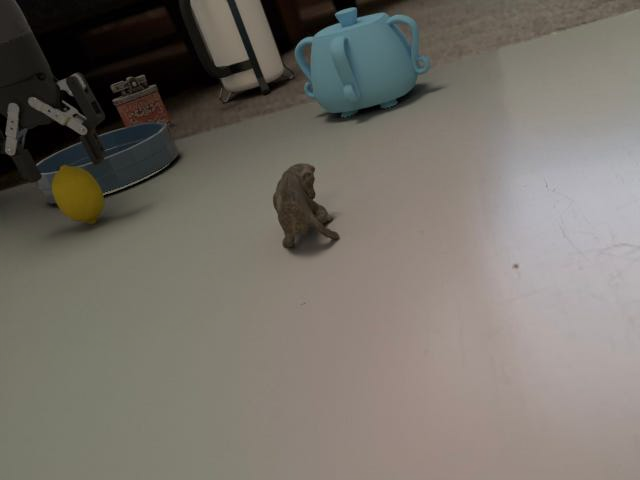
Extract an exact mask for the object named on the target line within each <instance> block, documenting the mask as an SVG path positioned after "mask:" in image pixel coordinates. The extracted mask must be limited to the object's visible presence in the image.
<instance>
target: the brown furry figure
mask: <svg viewBox="0 0 640 480" xmlns="http://www.w3.org/2000/svg"><path fill="white" fill-rule="evenodd" d="M315 172H316V167H315V166H314V165H311V164H309V163H304V162H303V163H302V162H301V163H295V164H293V165H291V166H290V167H288V168H287V169H286V170H285V171H284V172H282V175H281V178H280V179H279V181H278V182H277V183H276V188H275V192H273V193H274V194H273V196H272V205H273V208H274V210H275V212H276V214H277V220H278V223H279V225H280V227H281V229H282V230H283V234H284V237H283V239H282V247H284V248H291V247H292V246H293V245H294V243H295V241H296V238H295V232H297V233H298V234H300V235H301V236H306V235H307V234H308V232H309V228H311V229H312V230H314V231H315V232H316V233H318V234H320V235H322V236H323V237H325V238H326V239H330V240H336V239H338V238H340V235H339V234H338V232H337V231H334V230H332V229H330V228H328V227H326V226H325V225H324V224H326V223H329V222H330V221H331V220H332V219H333V216H332V215H330V214H329V213H328V210H327V209H326V207H324V206H323V205H321V204H319V203H318V202H316V201H315V200H314V199H315V198H316V196H317V195H316V191H315V187H314V184H315V180H316V178H315V174H314V173H315Z"/></svg>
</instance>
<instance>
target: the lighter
mask: <svg viewBox="0 0 640 480" xmlns="http://www.w3.org/2000/svg"><path fill="white" fill-rule="evenodd" d="M147 81H148V80H147V77H146V75H145V74H141V75H138V76H136V77H134V76H128V77H126V79H125V80H121V81H118V82H115V83H113V84H111V85H110V90H111V92H112V93H113V94H115V93H118V92H120V93H121V96H119V97H116V98H114V99H111V100H112V103H113V105H114V106H115V107H116V110H117V113H118V114H119V116H120V118H121V120H122V122H123V124H124V126H125V127H128V126H132V125H137V124H142V123H147V122H158V121H159V122H164V123H166V124H167V126H168V128H169V130H171V129H173V128H174V127H175V124H174V122H173V120H172V119H171V118H170V115H169V113H168V111H167V108H166V106H165V104H164V102H163V100H162V97H161V95H160V93H159V88H158V86H157V84H151V85H148V82H147ZM125 89H127V91H126V90H125Z"/></svg>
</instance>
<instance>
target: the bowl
mask: <svg viewBox="0 0 640 480" xmlns="http://www.w3.org/2000/svg"><path fill="white" fill-rule="evenodd" d="M98 137H99V139H100V141H101V143H102V145H103V147H104V149H105V155H104V161H103V162H101V163H100V164H97V165H94V164H93V163H92V161H91V159H90V157H89V156H88V154H87V152H86V150H85V148H84V146H83V144H82V142H81V141H80V142H77V143H75V144H72V145H70V146H68V147H66V148H63V149H61V150H59V151H57V152H55V153H52V154H51V155H49V156H47V157H45V158H43V159H42V160H40V161H39V162H37V163H35V164H36V166H37V167H38V169H39V171H40V173H41V175H42V178H41V179H40V180H38V181H37V182H34V184H35V186H36V187H37V190H38V191H39V193H40V195H41V197H42V199H43V200H44V201H45V202H47V203H48V204H57V203H56V201H55V199H54V196H53V192H52V180H53V178H54V176H55V174H56V173H57V172H58V171H59V170H60V167H61V166H63V165H67V166H73V167H79V168H82V169H84V170H86V171H87V172H89V173H90V174H91V175H92V176H93V177H94V179H95V180H96V181H97V183H98V184H99V186H100V188H101V190H102V193H105V192H108V191H111V190H114V189H117V188H120V187H123V186H125V185H128V184H130V183H132V182H135V181H137V180H140V179H142V178H144V177H146V176H148V175H150V174H152V173H154V172H156V171H158V170H160V169H162V168H163V167H165V166H166V165H168V164H169V163H171V162H172V161H173V162H174V160H175V159H176V158H177V157H178V156H179V155H180V154H179V148H178V146H177V144H176V142H175V140H174V138H173V135H172V133H171V131H170V129H169V128H168V126H167V124H166V123H164V122H159V121H158V122H147V123H142V124H137V125H132V126H128V127H126V126H125V127H122V128H117V129H114V130H110V131H108V132H105V133H101V134H99V135H98ZM173 162H172V163H173ZM172 163H171V164H172Z"/></svg>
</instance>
